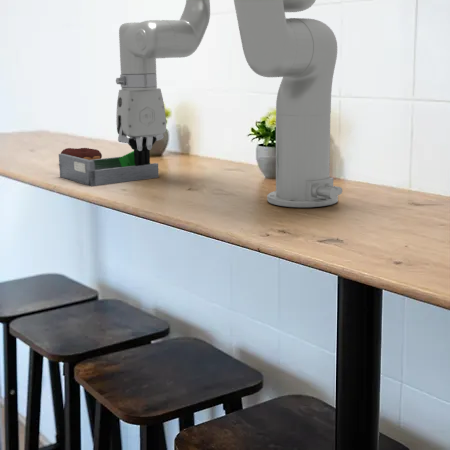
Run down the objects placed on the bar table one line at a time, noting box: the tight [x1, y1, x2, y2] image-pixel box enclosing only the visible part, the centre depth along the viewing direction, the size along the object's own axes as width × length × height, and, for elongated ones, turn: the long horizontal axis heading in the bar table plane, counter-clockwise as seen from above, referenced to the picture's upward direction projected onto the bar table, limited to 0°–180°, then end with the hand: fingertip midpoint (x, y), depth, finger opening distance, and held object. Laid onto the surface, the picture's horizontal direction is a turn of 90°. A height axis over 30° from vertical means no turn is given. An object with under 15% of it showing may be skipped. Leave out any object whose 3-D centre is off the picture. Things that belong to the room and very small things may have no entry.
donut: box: [60, 147, 103, 160], centre depth 187 cm, size 10×10×4 cm
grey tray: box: [58, 153, 159, 187], centre depth 167 cm, size 15×16×5 cm
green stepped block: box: [119, 150, 151, 167], centre depth 173 cm, size 11×4×5 cm, turn 171°
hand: (142, 167), depth 169 cm, fingers closed
